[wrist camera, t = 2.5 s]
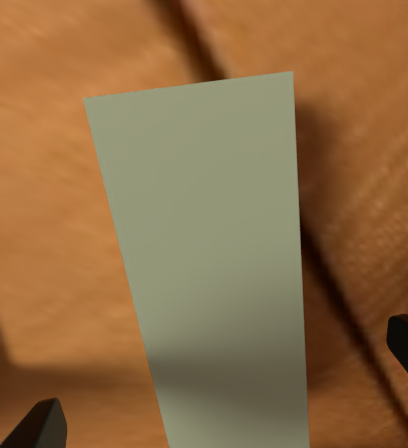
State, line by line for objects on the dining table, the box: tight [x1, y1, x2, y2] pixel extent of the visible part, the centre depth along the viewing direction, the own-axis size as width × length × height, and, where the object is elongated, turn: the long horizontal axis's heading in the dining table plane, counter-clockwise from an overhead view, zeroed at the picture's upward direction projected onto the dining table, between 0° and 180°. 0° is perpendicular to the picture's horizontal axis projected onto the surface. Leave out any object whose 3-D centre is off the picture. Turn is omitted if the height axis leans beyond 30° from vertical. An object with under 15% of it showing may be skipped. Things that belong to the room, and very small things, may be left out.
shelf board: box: [83, 71, 309, 448], centre depth 11 cm, size 14×5×4 cm, turn 8°
